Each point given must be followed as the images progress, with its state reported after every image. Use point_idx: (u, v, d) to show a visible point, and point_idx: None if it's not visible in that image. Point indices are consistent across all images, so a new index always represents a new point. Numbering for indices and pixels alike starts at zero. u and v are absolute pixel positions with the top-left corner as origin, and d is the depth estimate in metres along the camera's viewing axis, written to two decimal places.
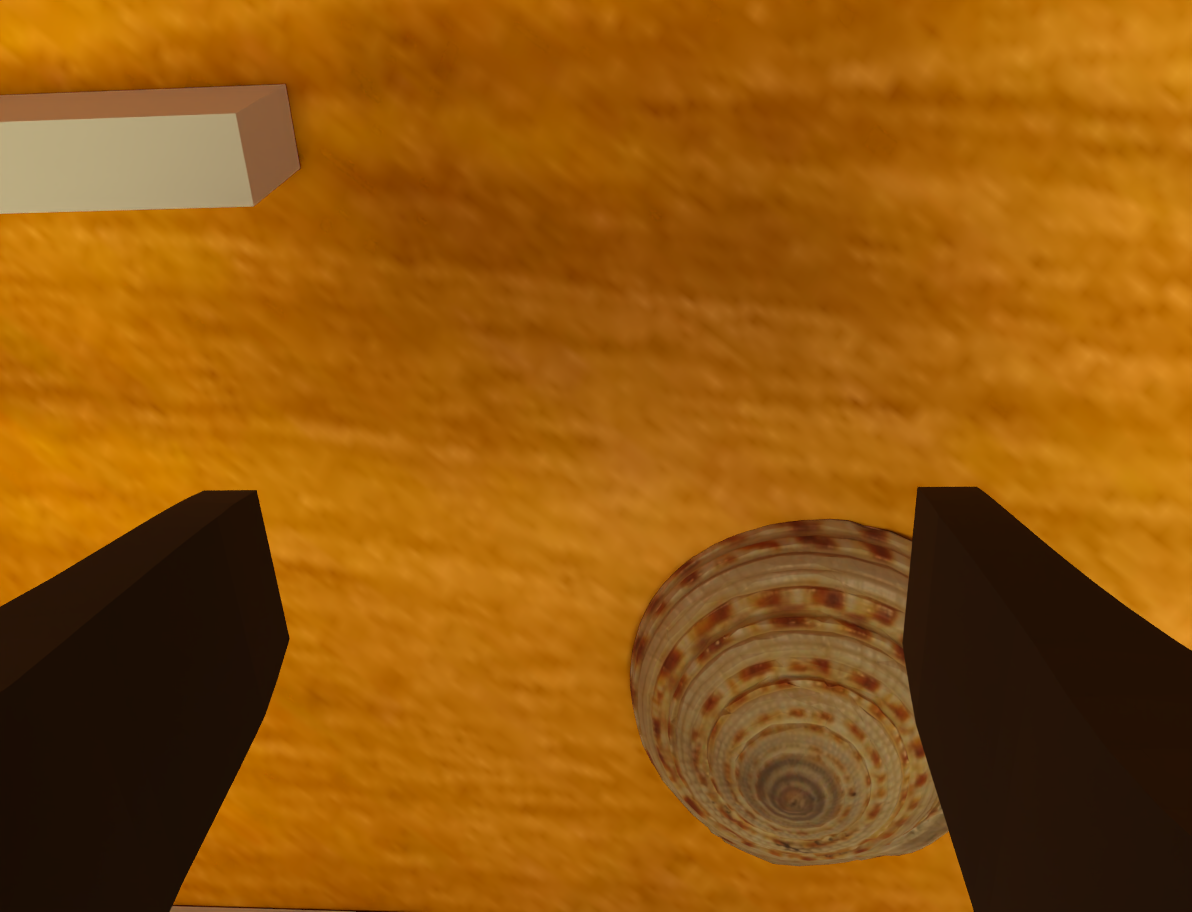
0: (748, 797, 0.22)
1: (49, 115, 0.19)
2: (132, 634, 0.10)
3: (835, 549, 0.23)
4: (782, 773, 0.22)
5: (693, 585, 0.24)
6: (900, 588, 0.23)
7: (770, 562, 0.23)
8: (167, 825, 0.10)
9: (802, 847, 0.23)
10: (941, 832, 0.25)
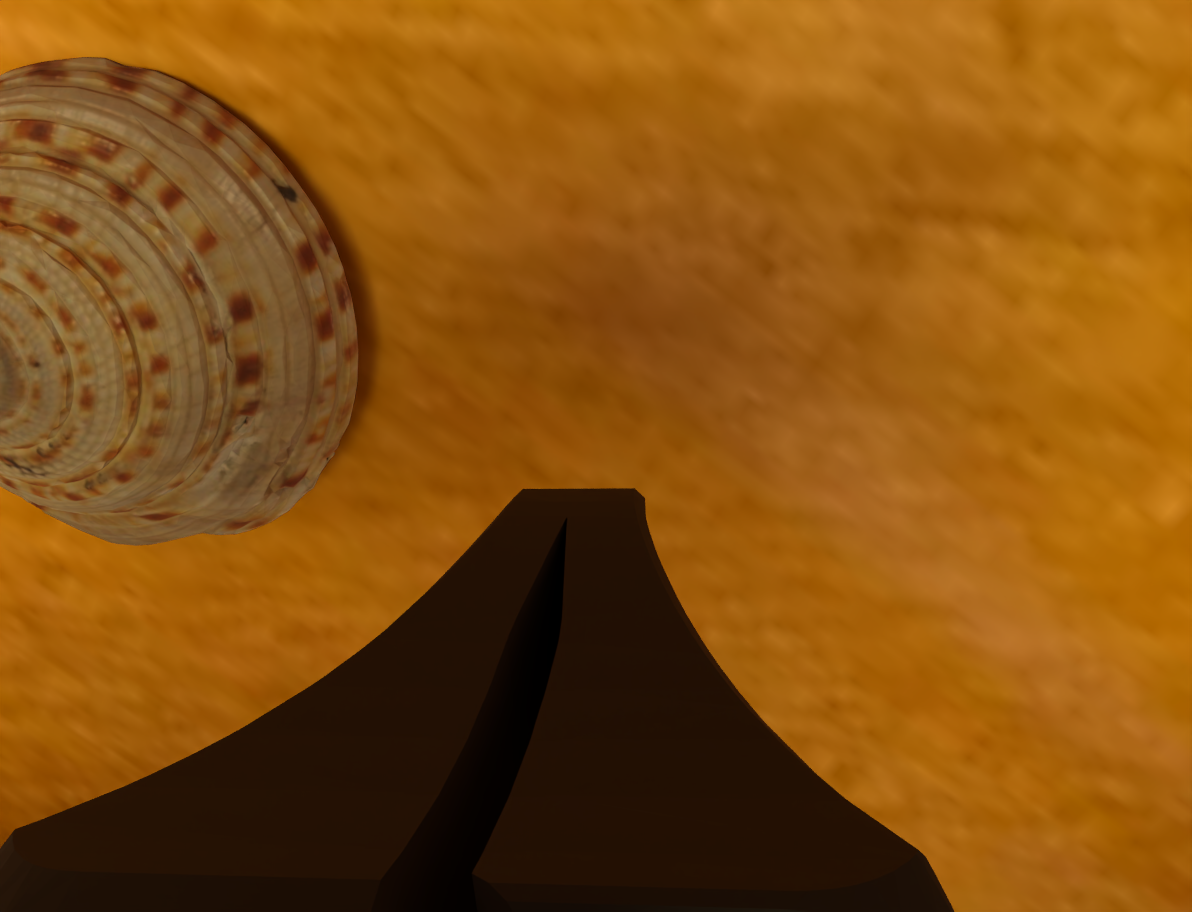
0: None
1: None
2: (530, 636, 0.09)
3: (66, 81, 0.18)
4: None
5: None
6: (134, 122, 0.18)
7: None
8: None
9: (30, 463, 0.18)
10: (262, 472, 0.20)
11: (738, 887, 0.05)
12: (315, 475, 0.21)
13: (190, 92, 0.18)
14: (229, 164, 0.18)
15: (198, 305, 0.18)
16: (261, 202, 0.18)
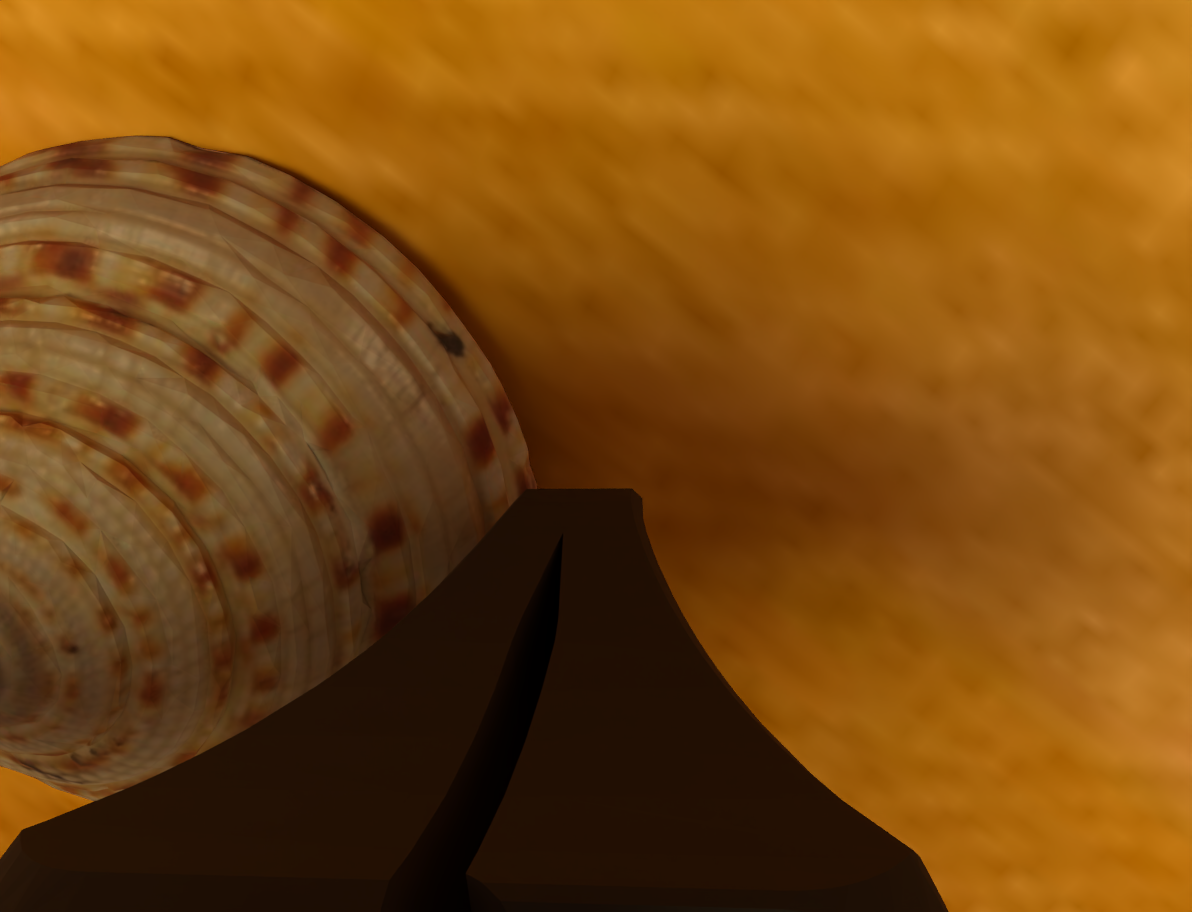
0: None
1: None
2: (535, 636, 0.09)
3: (111, 177, 0.12)
4: None
5: None
6: (221, 243, 0.11)
7: None
8: None
9: (60, 771, 0.12)
10: None
11: (731, 886, 0.05)
12: None
13: (302, 190, 0.12)
14: (367, 306, 0.12)
15: (324, 531, 0.11)
16: (416, 363, 0.12)
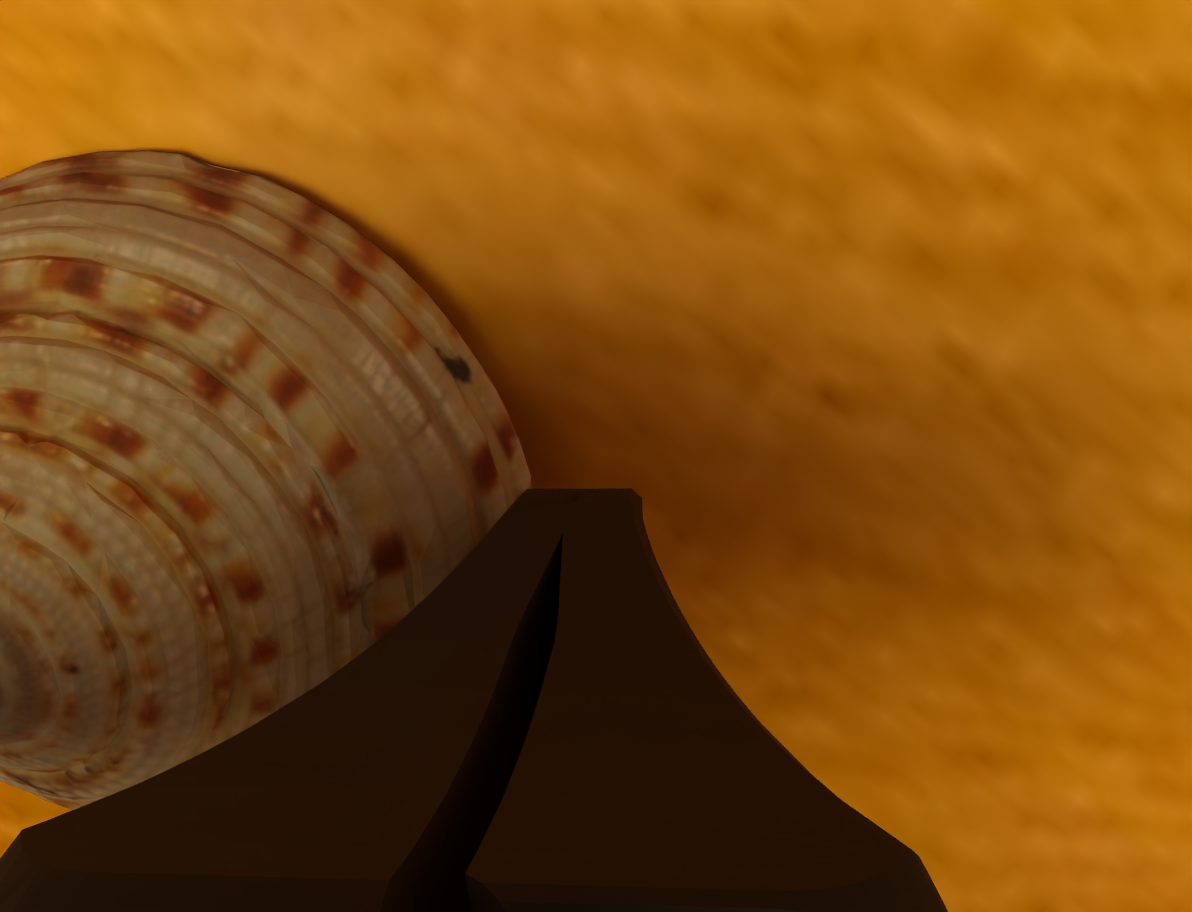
0: None
1: None
2: (535, 636, 0.09)
3: (122, 193, 0.12)
4: None
5: None
6: (231, 264, 0.11)
7: None
8: None
9: (53, 787, 0.12)
10: None
11: (729, 885, 0.05)
12: None
13: (313, 212, 0.12)
14: (376, 330, 0.12)
15: (327, 556, 0.11)
16: (423, 388, 0.12)
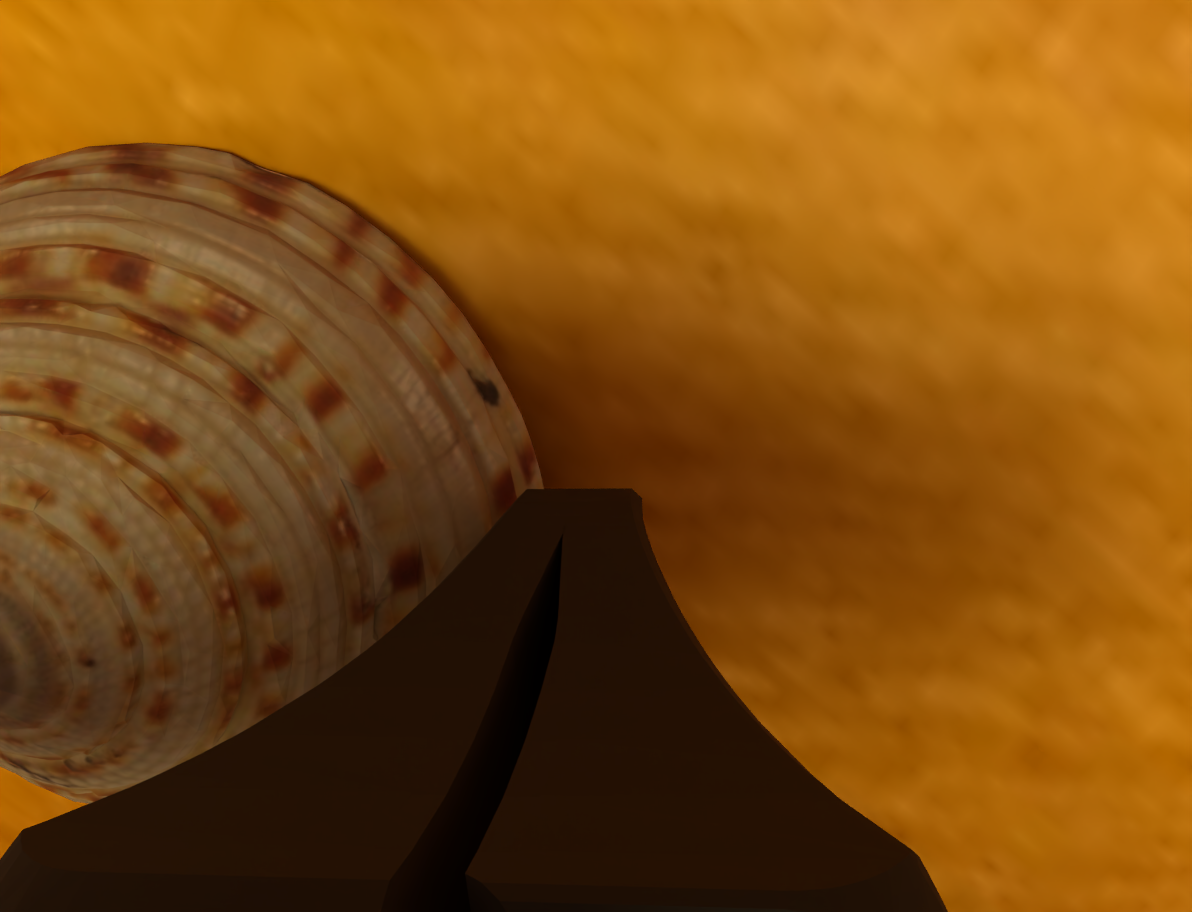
0: None
1: None
2: (536, 636, 0.09)
3: (171, 189, 0.12)
4: None
5: None
6: (277, 271, 0.11)
7: (38, 201, 0.12)
8: None
9: (50, 773, 0.12)
10: None
11: (729, 885, 0.05)
12: None
13: (359, 224, 0.12)
14: (413, 349, 0.12)
15: (347, 567, 0.11)
16: (453, 409, 0.12)
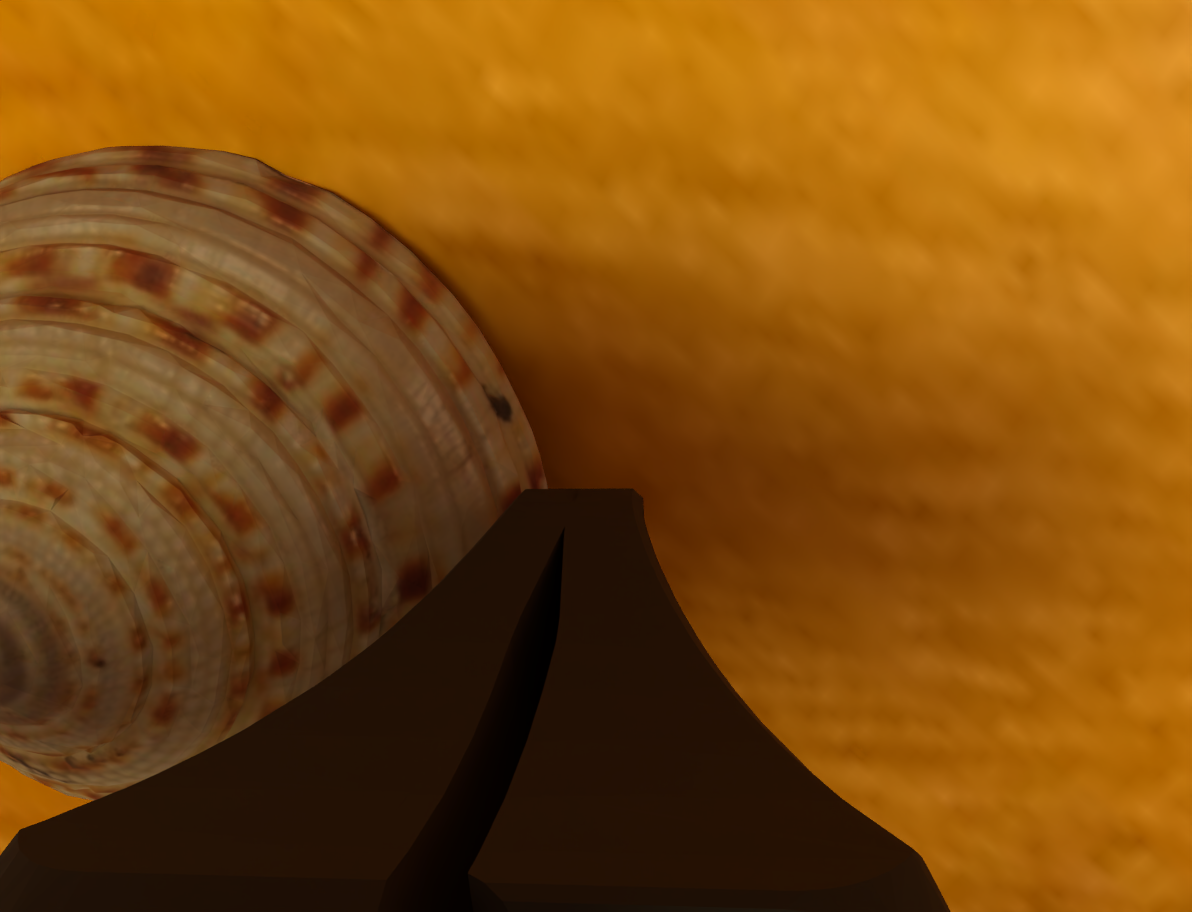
0: None
1: None
2: (534, 636, 0.09)
3: (197, 193, 0.12)
4: None
5: None
6: (301, 281, 0.11)
7: (63, 198, 0.12)
8: None
9: (49, 768, 0.12)
10: None
11: (733, 887, 0.05)
12: None
13: (381, 236, 0.12)
14: (431, 363, 0.12)
15: (356, 577, 0.12)
16: (467, 424, 0.12)
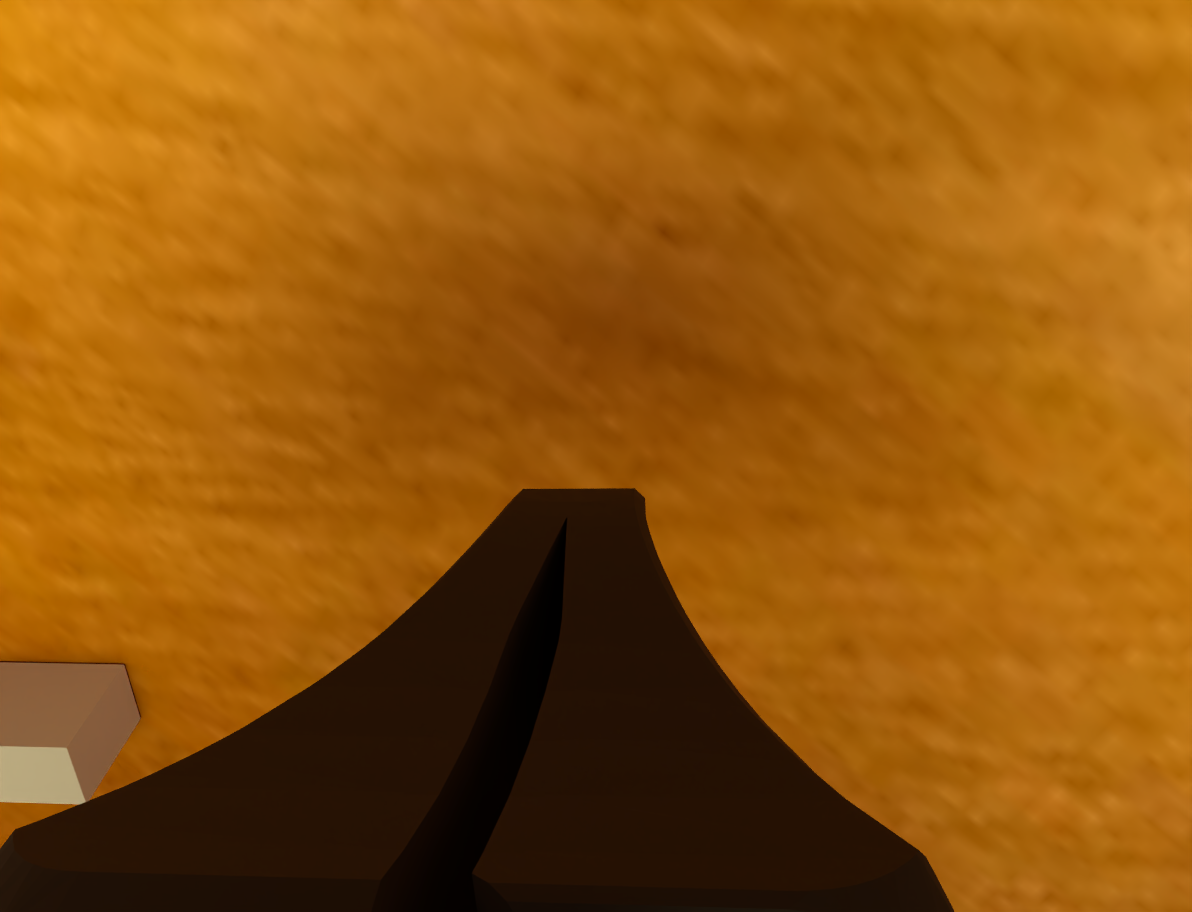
0: None
1: None
2: (530, 636, 0.09)
3: None
4: None
5: None
6: None
7: None
8: None
9: None
10: None
11: (738, 884, 0.05)
12: None
13: None
14: None
15: None
16: None
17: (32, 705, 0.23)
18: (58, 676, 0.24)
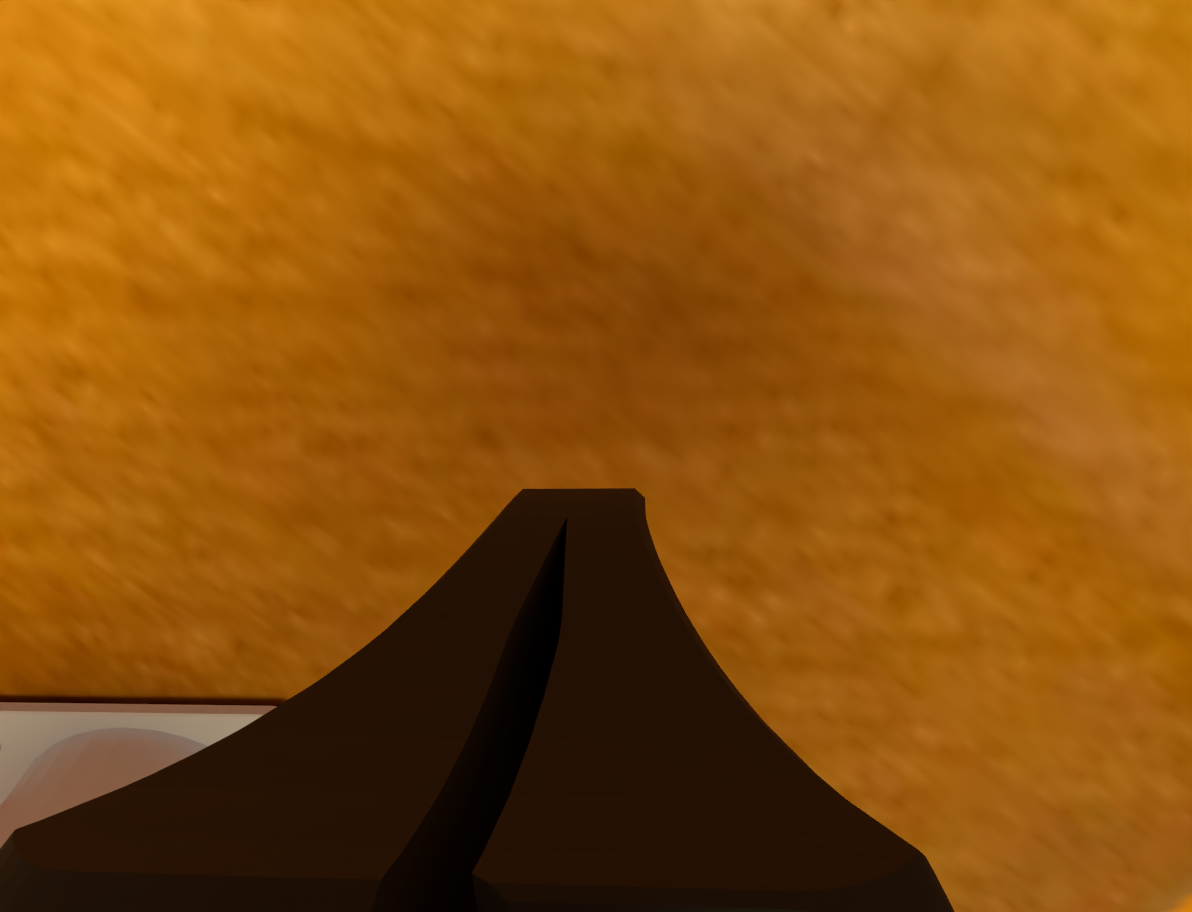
0: None
1: None
2: (530, 637, 0.09)
3: None
4: None
5: None
6: None
7: None
8: None
9: None
10: None
11: (738, 887, 0.05)
12: None
13: None
14: None
15: None
16: None
17: None
18: None
